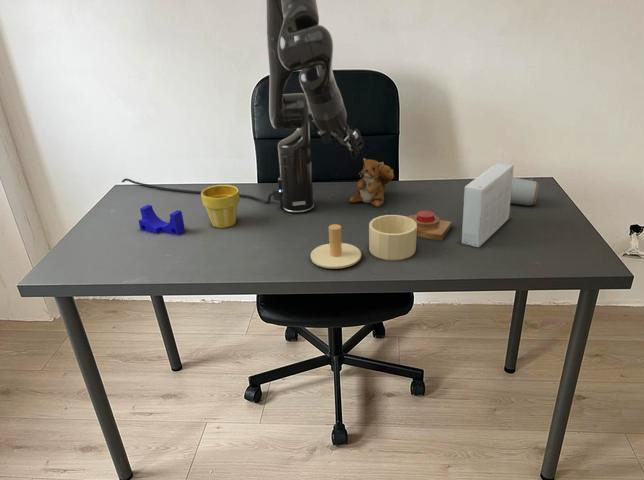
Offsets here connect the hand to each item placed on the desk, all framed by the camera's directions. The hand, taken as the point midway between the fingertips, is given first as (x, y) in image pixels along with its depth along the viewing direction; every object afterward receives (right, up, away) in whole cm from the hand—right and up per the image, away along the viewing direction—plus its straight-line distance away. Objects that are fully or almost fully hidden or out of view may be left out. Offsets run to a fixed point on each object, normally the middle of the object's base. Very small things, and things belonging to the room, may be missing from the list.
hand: (341, 148), depth 133 cm
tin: (+13, -24, +6) cm, 28 cm away
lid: (-1, -26, +2) cm, 26 cm away
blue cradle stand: (-50, -19, +19) cm, 57 cm away
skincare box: (+39, -19, +14) cm, 46 cm away
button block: (+23, -19, +15) cm, 33 cm away
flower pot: (-34, -16, +22) cm, 44 cm away
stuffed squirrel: (+9, -8, +36) cm, 38 cm away
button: (+23, -16, +14) cm, 31 cm away
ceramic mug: (+54, -9, +31) cm, 63 cm away
